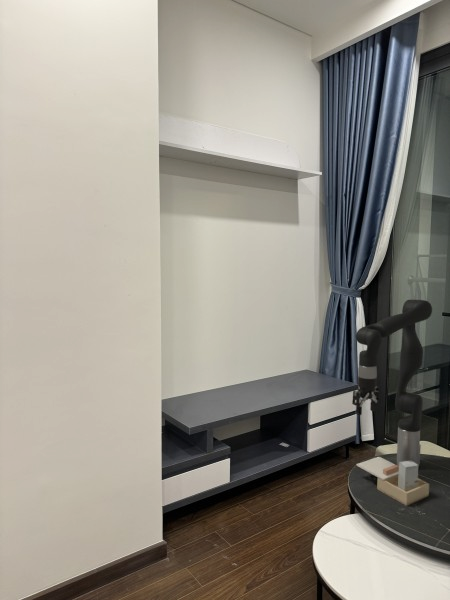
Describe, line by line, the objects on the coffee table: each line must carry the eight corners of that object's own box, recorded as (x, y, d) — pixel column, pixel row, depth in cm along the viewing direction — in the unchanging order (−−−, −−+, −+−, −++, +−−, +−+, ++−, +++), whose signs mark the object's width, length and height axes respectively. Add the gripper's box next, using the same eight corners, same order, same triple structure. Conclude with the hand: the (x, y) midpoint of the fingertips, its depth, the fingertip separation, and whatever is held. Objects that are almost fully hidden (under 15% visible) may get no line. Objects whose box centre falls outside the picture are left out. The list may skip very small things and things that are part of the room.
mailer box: (399, 480, 179) (399, 469, 179) (428, 495, 167) (429, 483, 167) (377, 489, 172) (377, 477, 172) (406, 506, 161) (406, 493, 160)
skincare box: (404, 496, 165) (405, 467, 164) (397, 490, 170) (398, 461, 168) (417, 494, 167) (419, 465, 166) (410, 488, 171) (411, 460, 170)
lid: (378, 457, 188) (378, 452, 188) (406, 471, 176) (406, 465, 176) (356, 465, 181) (356, 459, 181) (383, 480, 169) (383, 474, 169)
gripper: (362, 380, 172) (361, 418, 173) (386, 375, 179) (384, 412, 180) (348, 375, 178) (347, 413, 180) (371, 371, 185) (370, 407, 187)
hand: (366, 412), depth 180 cm, fingers open, 8 cm apart
